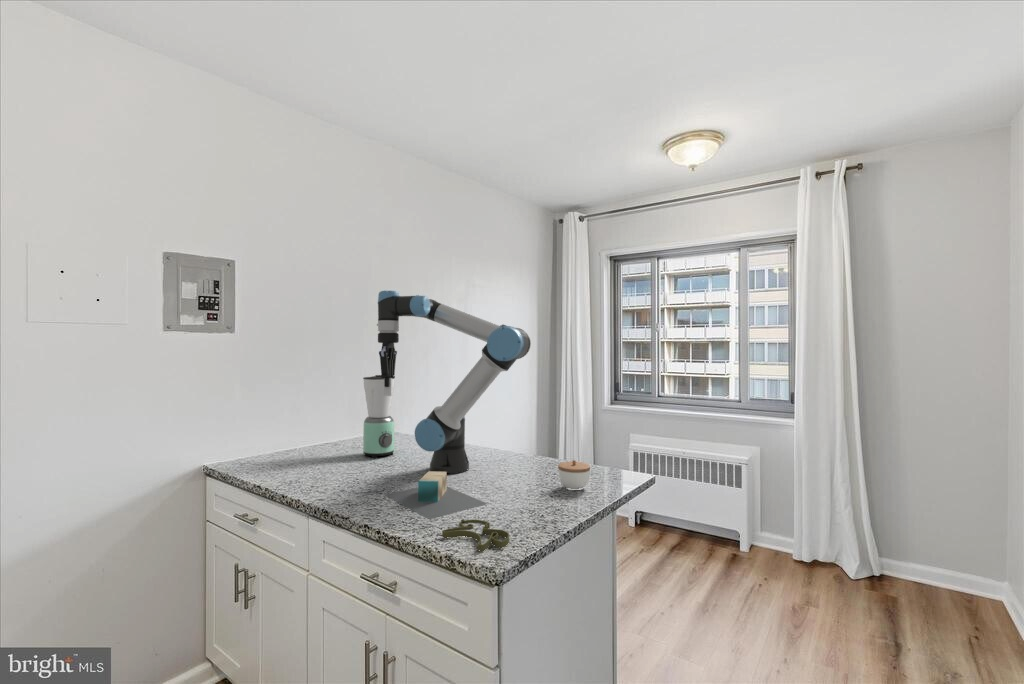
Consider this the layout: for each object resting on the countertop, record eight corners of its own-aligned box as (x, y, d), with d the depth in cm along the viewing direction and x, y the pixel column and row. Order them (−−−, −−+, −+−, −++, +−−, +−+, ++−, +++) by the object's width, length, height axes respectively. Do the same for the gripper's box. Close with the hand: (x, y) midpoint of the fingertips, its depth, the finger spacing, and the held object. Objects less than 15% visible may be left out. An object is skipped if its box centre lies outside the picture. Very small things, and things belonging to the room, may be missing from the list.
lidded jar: (593, 486, 166) (593, 458, 166) (585, 494, 156) (585, 465, 156) (564, 482, 170) (564, 455, 170) (553, 490, 160) (553, 462, 160)
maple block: (418, 501, 146) (428, 489, 158) (437, 501, 145) (446, 490, 157) (418, 481, 146) (428, 471, 158) (437, 481, 145) (446, 471, 157)
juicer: (402, 455, 210) (402, 375, 211) (374, 460, 201) (374, 376, 201) (380, 449, 224) (380, 373, 224) (353, 453, 215) (353, 374, 215)
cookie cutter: (436, 536, 122) (436, 529, 122) (469, 523, 131) (469, 516, 131) (487, 556, 111) (487, 548, 111) (521, 540, 120) (521, 532, 120)
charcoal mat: (439, 486, 165) (439, 483, 165) (488, 507, 144) (488, 503, 144) (384, 497, 152) (384, 494, 152) (429, 522, 131) (429, 519, 131)
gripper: (384, 332, 187) (384, 393, 187) (371, 331, 174) (371, 397, 174) (403, 332, 186) (403, 393, 186) (392, 331, 174) (391, 397, 173)
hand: (388, 395), depth 180 cm, fingers closed
